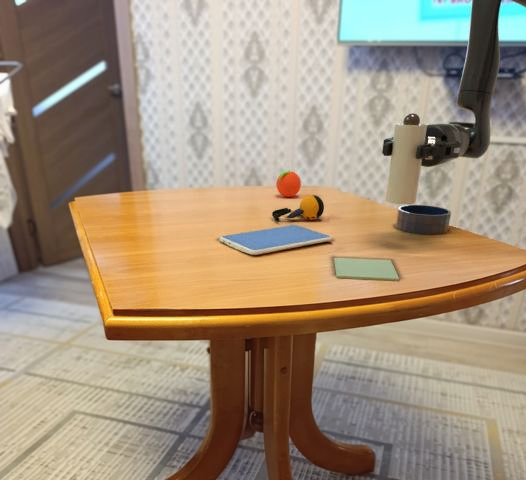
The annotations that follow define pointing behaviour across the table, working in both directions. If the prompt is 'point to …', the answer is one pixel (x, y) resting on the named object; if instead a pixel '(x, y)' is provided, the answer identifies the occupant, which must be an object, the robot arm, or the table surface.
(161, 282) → the table surface
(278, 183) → the clementine
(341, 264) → the napkin
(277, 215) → the character figurine
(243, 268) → the table surface
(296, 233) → the tablet
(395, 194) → the pepper mill
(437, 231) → the bowl
